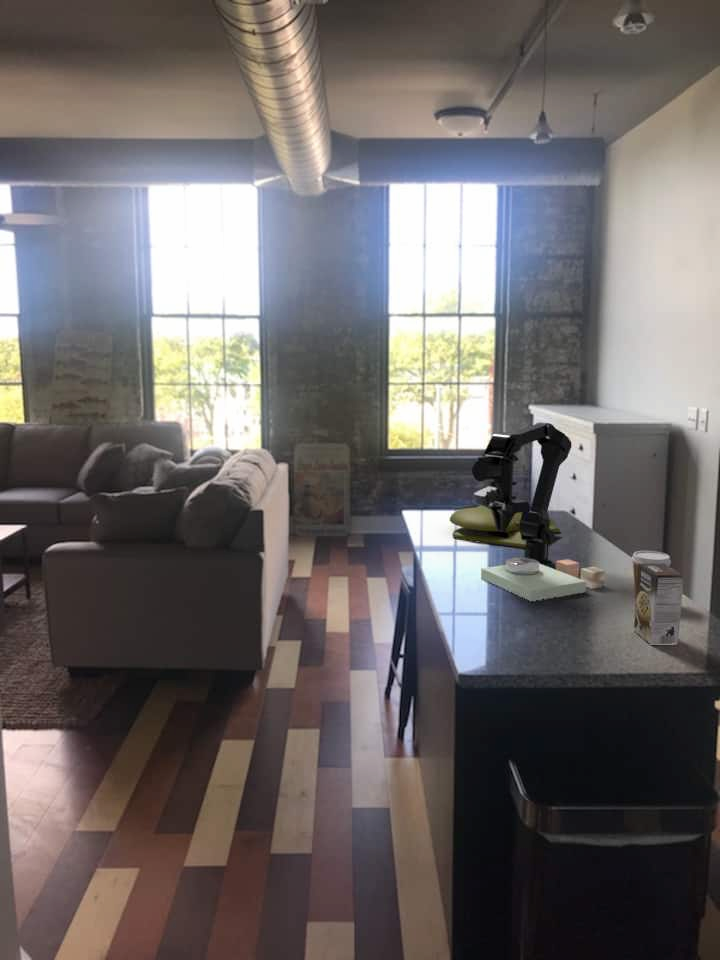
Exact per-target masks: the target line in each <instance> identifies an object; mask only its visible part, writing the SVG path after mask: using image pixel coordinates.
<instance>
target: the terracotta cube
mask: <svg viewBox="0 0 720 960" xmlns="http://www.w3.org/2000/svg"><path fill="white" fill-rule="evenodd" d="M555 570H558V571H560V572H563V573H565V574H568V575H571V576H573V577H576V578H578V579H580V578H579V577H580V576H579V574H580V562H578V561H574V560H572V559H568V558H566V559H560V560H556V561H555Z"/></svg>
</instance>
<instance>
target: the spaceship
mask: <svg viewBox="0 0 720 960" xmlns="http://www.w3.org/2000/svg"><path fill="white" fill-rule="evenodd" d="M521 516H522V512H521V513H516V514H515V515H514V517H513V518H512V520H511V522H510V523H509V525H508V527H507V529H506V531H505V532H504V533H505V534H507V535H508V536H507V537H504V536H496V535H490V534H484V533H483V534H482V533H476V532H475V533H474V532H468V531H455V532H453V533H452V537H453V538H454V539H456V538H458V539H457V540H462V539H465V540H464V541H469V540H472V541H471V542H476V541H479V542H478V543H482V542H486V543H485V544H489V543H493V544H492V545H496V544H499V545H498V546H503V545H505V546H504V547H510V546H512V548H517V547H518V549H524V548H525V546H526V541H527V540H522V539H521V534H520V530H519V525H520V523H519V522H520V520H521ZM549 519H550V525H549V528H550V529H551V531H552V532H553V534H558V533H560V531H561V528H560V527H558V526H556V524H557V522H555V521H554V520H553V518H550V517H549ZM449 521H450V522H451V524H453V525H455V526H458V527H461V528H465V529H471V530H475V531H476V530H477V531H484V532H485V531H486V532H488V531H489V532H499V531H498V530H497V528H496V524H495V521H494V517H493V514H492V512H491V511H490V510H489V509H488V508H486V507H485V506H482V505H480V504H475V505H470V506H466V507H464V508H461V509H458V510H456V511H455V512H453V513H452V514H451V515H450V517H449Z"/></svg>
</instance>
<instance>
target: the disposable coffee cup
mask: <svg viewBox="0 0 720 960" xmlns="http://www.w3.org/2000/svg"><path fill="white" fill-rule="evenodd" d="M630 559H631V562H632V566H633V567H632V568H633V570H632V571H633V581H634V582H633V583H634V599H635V600H636V591H637V575H638V564H641V563H656V564H663V563H664V564H666V565H667V566H669V567H671V566H670V565H671V563H672V560H671V558H670V555H668V553H664V552H660V551H655V550H654V551H653V550H638V551H635V552H634V553H632V556H631V558H630Z"/></svg>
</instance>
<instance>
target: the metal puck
mask: <svg viewBox="0 0 720 960" xmlns="http://www.w3.org/2000/svg"><path fill="white" fill-rule="evenodd" d="M505 565H506V571H507V572H509V573H511V574H516V575H535V574H538V573H539V562H538V561H537V560H534V559H529V558H523V557H512V558H508V559H506V561H505Z"/></svg>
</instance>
